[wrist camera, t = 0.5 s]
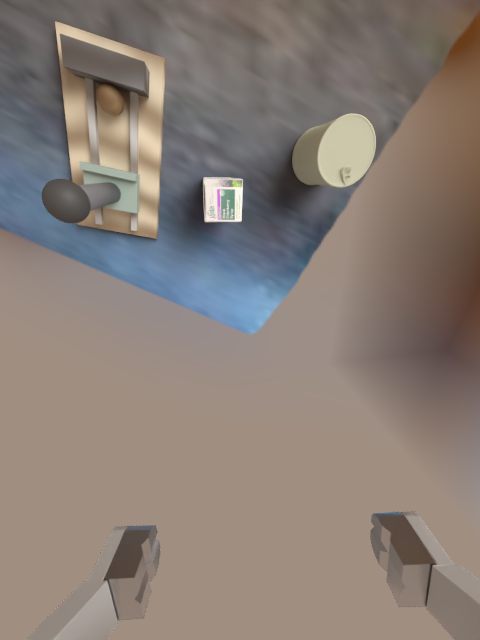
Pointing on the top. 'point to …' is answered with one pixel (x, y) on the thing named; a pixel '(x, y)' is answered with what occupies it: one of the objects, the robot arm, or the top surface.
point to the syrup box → (222, 199)
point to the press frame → (114, 120)
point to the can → (335, 152)
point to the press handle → (92, 193)
